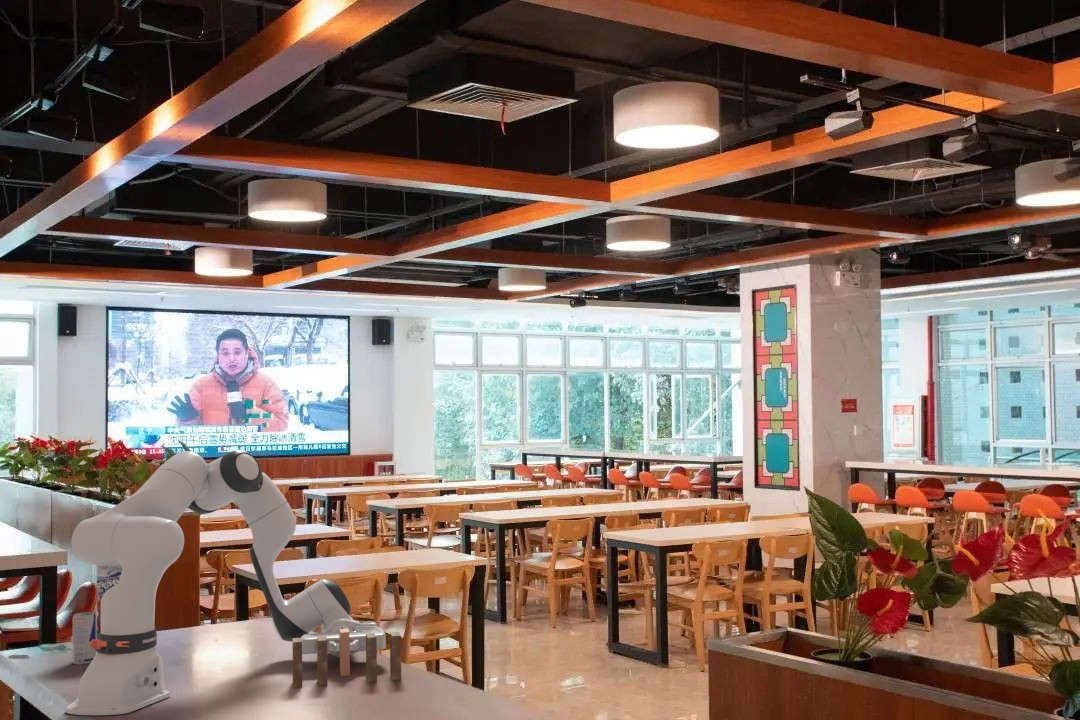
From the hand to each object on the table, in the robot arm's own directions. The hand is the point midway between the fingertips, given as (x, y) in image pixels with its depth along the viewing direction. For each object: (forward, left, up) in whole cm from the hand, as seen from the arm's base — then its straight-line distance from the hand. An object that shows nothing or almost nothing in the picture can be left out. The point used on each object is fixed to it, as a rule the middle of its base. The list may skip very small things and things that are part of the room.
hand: (344, 648), depth 261 cm
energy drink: (+10, +70, -6) cm, 71 cm away
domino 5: (-3, -13, -6) cm, 14 cm away
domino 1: (-10, +8, -6) cm, 14 cm away
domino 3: (+1, 0, -6) cm, 6 cm away
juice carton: (+22, +67, -6) cm, 71 cm away
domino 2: (-9, +3, -6) cm, 11 cm away
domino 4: (-5, -8, -6) cm, 11 cm away
